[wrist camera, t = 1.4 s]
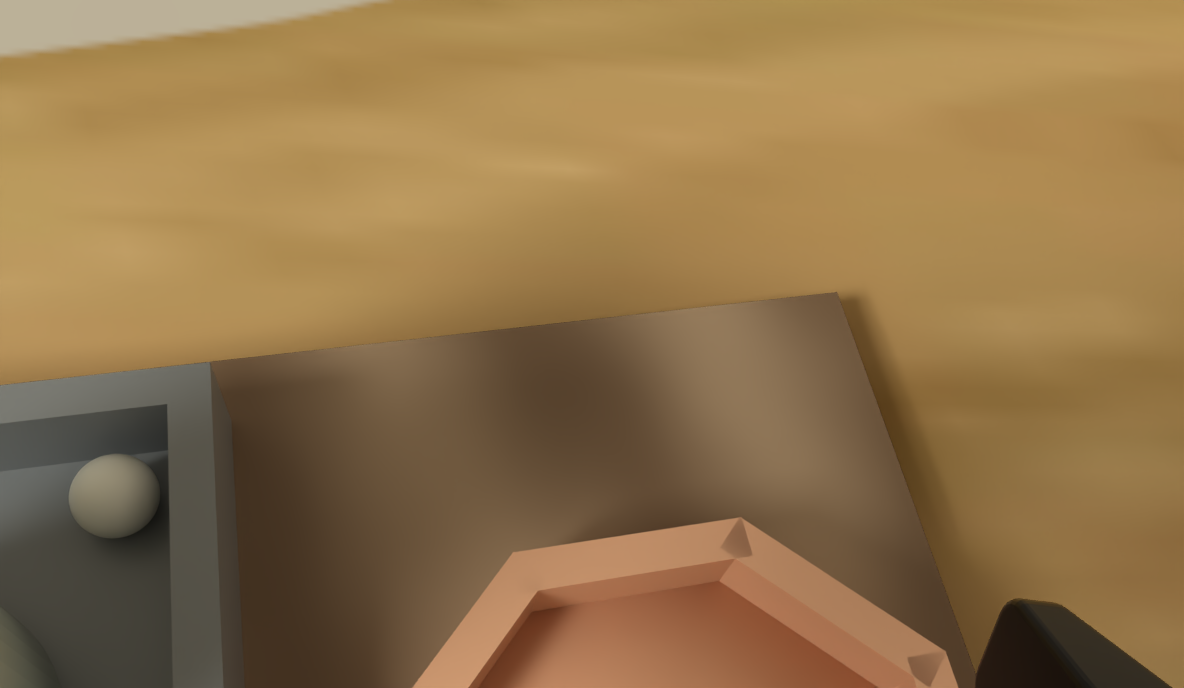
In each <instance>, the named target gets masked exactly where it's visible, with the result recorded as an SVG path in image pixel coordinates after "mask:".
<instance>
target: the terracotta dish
mask: <svg viewBox="0 0 1184 688" xmlns="http://www.w3.org/2000/svg"><path fill="white" fill-rule="evenodd" d="M412 688H958V685H957V682H956V679H955V677H954V674H953V671H952V668H951V665H950V662H949V660H948V657H947V654H946V651H945V650H943V649H941V648H940V647H938V646H937V645H935V644H933V643H932V642H930V641H929V640H927V639H926V638H924V637H923V636H921V635H920V634H918V633H917V632H915V631H914V630H912V629H911V628H909V627H908V626H906V625H904V624H903V623H901V622H900V621H898V620H897V619H895V618H894V617H892V616H891V615H889V614H888V613H886V612H885V611H883V610H882V609H880V608H878V607H877V606H875V605H874V604H872V603H871V602H869V601H868V600H866V599H865V598H863V597H862V596H860V595H859V594H857V593H856V592H854V591H853V590H851V589H849V588H848V587H846V586H845V585H843V584H842V583H840V582H839V581H837V580H836V579H834V578H833V577H831V576H830V575H828V574H827V573H825V572H823V571H822V570H820V569H819V568H817V567H816V566H814V565H813V564H811V563H810V562H808V561H807V560H805V559H804V558H802V557H801V556H799V555H798V554H796V553H794V552H793V551H791V550H790V549H788V548H787V547H785V546H784V545H782V544H781V543H779V542H778V541H776V540H775V539H773V538H772V537H770V536H768V535H767V534H765V533H764V532H762V531H761V530H759V529H758V528H756V527H755V526H753V525H752V524H750V523H749V522H747V521H746V520H744V519H743V518H742V517H739V518H733V519H726V520H720V521H713V522H707V523H701V524H694V525H688V526H681V527H675V528H668V529H662V530H655V531H649V532H642V533H636V534H629V535H623V536H616V537H610V538H603V539H597V540H590V541H584V542H577V543H571V544H564V545H558V546H552V547H545V548H539V549H532V550H526V551H519V552H513V553H512V555H511V556H510V557H509V559H508V560H507V561H506V563H505V564H504V565H503V567H502V568H501V569H500V571H499V572H498V573H497V575H496V576H495V577H494V579H493V580H492V581H491V583H490V584H489V585H488V587H487V588H486V589H485V591H484V592H483V593H482V595H481V596H480V597H479V599H478V600H477V602H476V603H475V604H474V606H473V607H472V608H471V610H470V611H469V612H468V614H467V615H466V616H465V618H464V619H463V620H462V622H461V623H460V624H459V626H458V627H457V628H456V630H455V631H454V632H453V634H452V635H451V636H450V638H449V639H448V640H447V642H446V643H445V645H444V646H443V647H442V649H441V650H440V651H439V653H438V654H437V655H436V657H435V658H434V659H433V661H432V662H431V663H430V665H429V666H428V667H427V669H426V670H425V671H424V673H423V674H422V675H421V677H420V678H419V679H418V681H417V682H416V683H415V685H414V686H413V687H412Z"/></svg>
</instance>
